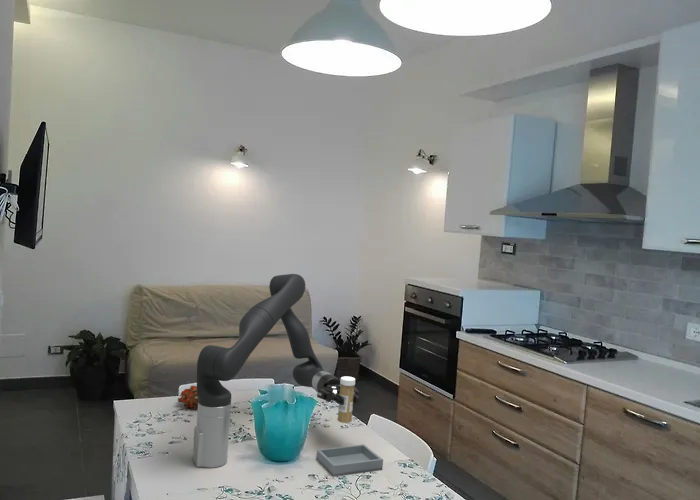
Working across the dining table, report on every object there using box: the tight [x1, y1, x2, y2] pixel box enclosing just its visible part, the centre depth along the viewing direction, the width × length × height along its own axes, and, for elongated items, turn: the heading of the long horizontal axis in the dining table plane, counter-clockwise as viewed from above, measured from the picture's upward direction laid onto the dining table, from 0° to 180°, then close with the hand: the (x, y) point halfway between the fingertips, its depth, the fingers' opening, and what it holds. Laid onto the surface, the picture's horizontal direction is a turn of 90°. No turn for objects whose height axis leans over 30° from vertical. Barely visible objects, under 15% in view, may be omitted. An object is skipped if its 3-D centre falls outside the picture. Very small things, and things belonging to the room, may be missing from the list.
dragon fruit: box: [177, 385, 198, 410], centre depth 212 cm, size 8×8×12 cm
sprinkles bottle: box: [336, 375, 356, 424], centre depth 178 cm, size 5×5×14 cm
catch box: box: [315, 444, 384, 477], centre depth 172 cm, size 16×12×3 cm
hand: (350, 401), depth 176 cm, fingers closed on sprinkles bottle, 4 cm apart
